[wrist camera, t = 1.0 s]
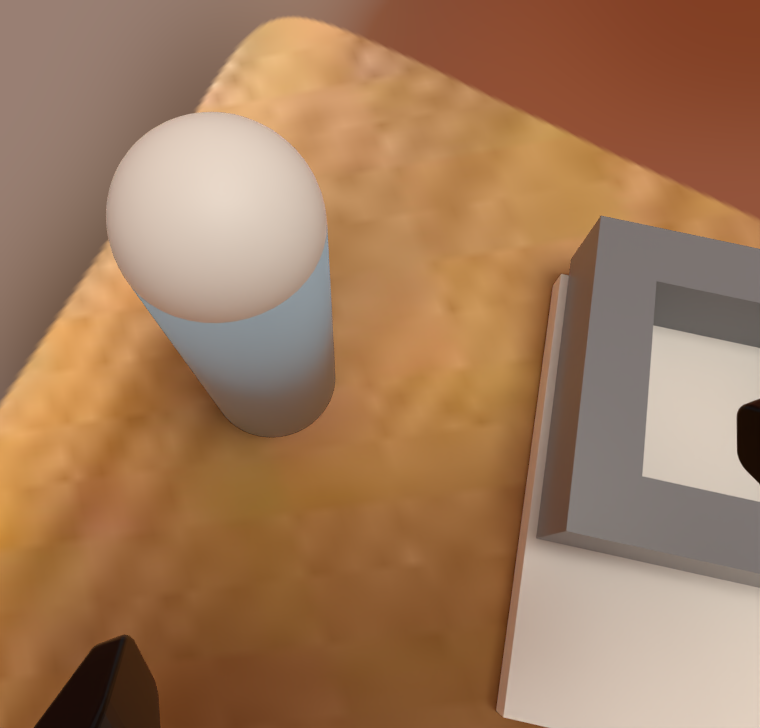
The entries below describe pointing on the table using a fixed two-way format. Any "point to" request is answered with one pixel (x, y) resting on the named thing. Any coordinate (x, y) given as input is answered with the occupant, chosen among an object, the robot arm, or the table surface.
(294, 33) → the table surface
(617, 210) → the table surface
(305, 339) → the ball-topped blue post
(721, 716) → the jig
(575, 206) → the table surface
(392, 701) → the table surface
